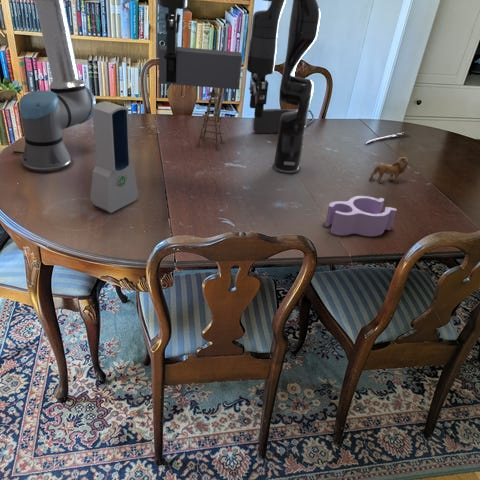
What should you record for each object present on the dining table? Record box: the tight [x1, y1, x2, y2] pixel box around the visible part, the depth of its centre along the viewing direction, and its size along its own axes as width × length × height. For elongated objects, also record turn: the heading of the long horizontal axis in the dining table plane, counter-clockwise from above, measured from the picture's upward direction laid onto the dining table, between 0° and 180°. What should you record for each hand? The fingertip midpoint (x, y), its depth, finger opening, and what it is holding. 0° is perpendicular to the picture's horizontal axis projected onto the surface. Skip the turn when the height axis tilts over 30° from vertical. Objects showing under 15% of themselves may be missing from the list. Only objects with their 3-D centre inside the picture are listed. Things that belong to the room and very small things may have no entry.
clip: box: [324, 195, 398, 237], centre depth 141 cm, size 20×12×7 cm, turn 109°
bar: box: [158, 44, 243, 91], centre depth 136 cm, size 23×5×9 cm, turn 94°
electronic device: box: [89, 101, 139, 214], centre depth 133 cm, size 12×8×30 cm, turn 148°
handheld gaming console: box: [252, 108, 298, 134], centre depth 205 cm, size 23×3×10 cm, turn 108°
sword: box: [365, 132, 410, 145], centre depth 213 cm, size 31×3×1 cm, turn 126°
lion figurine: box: [368, 156, 409, 184], centre depth 171 cm, size 15×5×9 cm, turn 110°
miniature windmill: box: [197, 87, 224, 150], centre depth 180 cm, size 9×8×30 cm
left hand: (171, 79), depth 137 cm, fingers closed on bar, 5 cm apart
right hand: (255, 112), depth 136 cm, fingers open, 8 cm apart
